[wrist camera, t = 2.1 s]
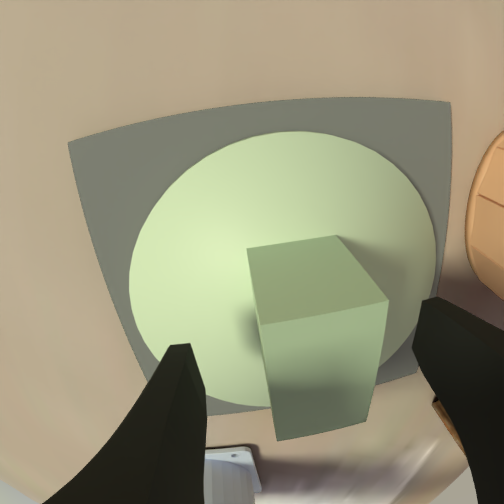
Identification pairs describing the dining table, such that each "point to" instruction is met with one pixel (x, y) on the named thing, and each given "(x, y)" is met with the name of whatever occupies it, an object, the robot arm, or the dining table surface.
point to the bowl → (487, 219)
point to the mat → (231, 130)
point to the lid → (286, 274)
